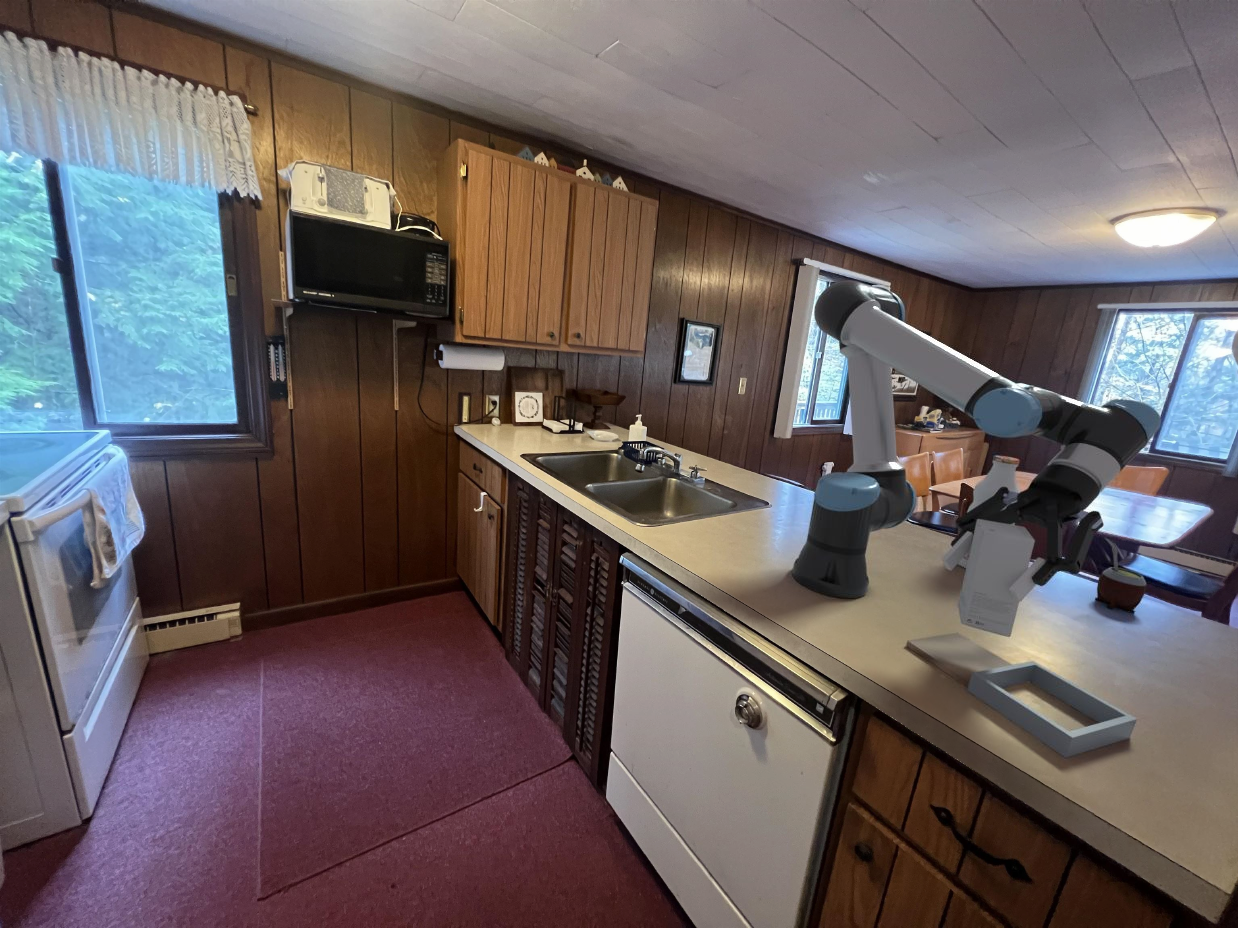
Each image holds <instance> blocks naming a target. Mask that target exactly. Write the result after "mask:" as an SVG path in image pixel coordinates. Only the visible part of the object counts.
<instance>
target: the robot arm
mask: <svg viewBox="0 0 1238 928" xmlns="http://www.w3.org/2000/svg"><path fill="white" fill-rule="evenodd" d="M905 309H906V308H905V305H904V303H903V301H902V299H901V298H900V297H899V296H898V295H897V294H896V293H894V292H893V291H891V290H889V289H888V288H885V287H882V286H881V287H880V286H873V285H870V284H867V283H863V282H860V281H858V280H852V279H850V280H840V281H837V282H835V283H834V282H833V284H831V285H828V287H826V288H825V289H824V290H823V291H822V292H821V293H820V295H819V296H818V298H817V299H816V302H815V306H814V312H813V315H814V320H815V323H816V325H817V327H818V328H819V329H820V330H821V331H822V333H824V334H826V335H828V336H829V337H831V338H833V339H835V340H837V341H838V346H839V353H840V354H841V355H842V356H844V357H845V358H846V359H847V371H848V374H847V375H848V387H849V388H848V389H849V390H848V391H849V404H850V420H851V423H850V424H851V437H852V450H853V451H852V452H853V453H852V454H853V463H852V465H851V466H850V467H849V468H847V470H846V471H845V472H841V471H837V472H830V473H826V474H823V475H822V476H821V477H820V478H819V479H818V481H817V485H816V489H815V491H814V492H813V494H814V495H813V504H812V510H811V514H810V515H811V516H810V520H809V527H808V532H807V537H806V541H805V544H804V545H803V547H802V548H801V550H800V553H799V555H798V557H797V558H796V559H795V561H794V562H793V566H792V571H791V573H792V576H793V578H794V580H796V582H797V583H799V584H800V585H802V586H804V587H805V588H808V589H809V590H812V591H814V592H817V593H820V594H823V595H826V596H829V597H830V596H831V597H836V598H840V599H841V598H843V599H855V598H856V599H858V598H861V597H864V596H865V595H866V594H867V592H868V588H869V586H870V585H869V583H870V579H869V576H868V572H867V570H868V569H867V567H868V566H867V560H866V554H867V550H868V549H867V548H868V543H869V539H870V534H871V533H873V532H876V531H877V532H878V531H880V530H884V529H885V530H887V529H891V528H892V529H893V528H895V527H897V526H899V525H901V524H903V523H905V522H906V521H907V520H908V519H910V518H911V516H912V515H913V514H914V512H915V510H916V508H917V507H916V506H917V502H918V500H917V498H918V497H917V493H916V490H915V488H914V486H913V484H911V483H910V482H909V480H907V473H906V470H907V469H906V466H904V465H902V464H901V463H900V462H899V461H898V455H897V440H896V438H897V437H896V425H895V424H896V422H895V410H894V408H895V407H894V392H893V391H894V389H893V380H892V378H893V377H892V369H894V370H896V371H897V372H899V373H900V374H902V375H903V376H904V377H907V378H908V379H910V380H911V381H913V382H914V383H916V384H918V385H920V386H921V387H922V388H924V389H925V390H927V391H929V392H931V393H932V394H934V395H935V396H937V397H939V398H940V399H942V400H944V401H945V402H947V403H948V404H950V405H952V406H953V407H955V408H956V409H958V410H959V411H962V413H964V414H966V415H968V416H969V417H970V418H972V419H973V420H974V422H975V424H976V426H977V427H978V429H980V430H981V431H982V432H984V433H986V434H987V435H990V436H995V437H997V438H1002V439H1003V438H1004V439H1006V438H1017V437H1024V436H1035V437H1039V438H1041V439H1044V440H1047V441H1050V442H1053V443H1056V444H1058V445H1060V446H1063V448H1062V449H1061V450H1060V451H1059V452H1058V453H1056V455H1055V456H1054V457H1053V458H1052V459H1051V460H1050V461H1049V462H1048V464H1047V465H1046V466H1044V467H1043V469H1042V470H1040V471H1039V473H1038V474H1037V475H1036V476H1035V477H1034V478H1033V479H1032V480H1031V482H1030V484H1029V486H1028V487H1027V488H1026V489H1024V490H1021V492H1020V493H1016V492H1011V491H1009V490H1008V488H1007V487H1001V488H1000V489H999V490H998V491H997V492H996V493H995V495H994V496H992V497H991V498H989V499H988V500H986V501H984V502H983V503H981V504H980V505H978V506H977V507H975V508H974V509H972V510H970V511H969V512H967V511H966V513H964V514H962V515H961V516H959V517H958V518H956V519H955V524H956V526H957V528H958V530H959V531H960V532H959V534H957V536H955V538H954V539H953V540H952V541H950V542H951V543H950V546H951V548H949V550H948V551H947V552H946V553H945V554H944V555H943V556H942V557H941V561H942V563H943V565H944V566H945V568H946V570H949V571H953V569H954V568H955V567H957V565H958V563H959V562H960V561H961V560H962V559H963V558H964V557H965V556H966V554H967V553H968V552H969V551H970V549H971V545H972V540H973V536H974V531H975V527H976V522H977V519H982V520H987V521H993V522H998V523H1004V524H1013V523H1015V524H1021V523H1024V522H1027V523H1029V524H1036V525H1038V526H1041V527H1043V528H1047V529H1046V530H1047V531H1046V535H1047V536H1046V538H1047V539H1046V554H1045V558H1046V560H1045V559H1044V558H1042V557H1037V558H1036V559H1035V560H1034V562H1032V563H1031V564H1030V566H1028V569H1027V570H1026V571H1025V572H1024V573H1023V574H1022V575H1021V577H1020V578H1019V579H1018V580H1017V581H1016V582H1015V583H1014V584H1013V585H1012V586H1011V587H1010V588H1009V590H1010V592H1011V594H1012V596H1013V598H1014V600H1016V601H1018V602H1019V603H1021V602H1022V601H1023V600H1024V599H1025V598H1026V597H1027V596H1028V595H1029V594H1030V592H1031V591H1032V590H1033V589H1034V588H1035V587H1036V586H1039V587H1043V586H1045V585H1047V583H1049V582H1050V580H1051V579H1052V578H1053V577H1054V576H1055V575H1056V574H1057V573H1060V572H1068V573H1069V574H1071V575H1078V574H1080V572H1081V570H1082V567H1083V564H1084V563H1085V559H1086V558H1087V554H1088V552H1089V550H1090V547H1091V544H1092V541H1093V538H1094V536H1095V534H1096V533H1097V532H1098V531H1099V530H1100V529H1102V528H1103V527H1104V522H1103V517H1102V515H1101V513H1100V511H1098V510H1092V511H1086V509H1087V508H1088V507H1089V506H1090V505H1091V504H1092V503H1093V502H1094V501H1095V500H1096V498H1098V496H1099V495H1100V494H1101V493H1102V492H1103V491H1104V489H1106V488H1107V486H1109V484H1111V482H1112V481H1113V480H1114V479H1115V478H1116V477H1117V476H1118V475H1119V474H1120V473H1121V471H1122V470H1123V469H1124V468H1125V467H1127V466H1128V464H1130V462H1131V461H1132V460H1133V459H1134V458H1135V457H1136V456H1137V455H1138V454H1139V453H1141V451H1142V450H1143V449H1145V447H1147V445H1148V443H1149V442H1150V440H1151V439H1152V438H1153V436H1154V435H1155V434H1156V433H1157V432H1158V431H1159V430H1160V428H1161V425H1162V418H1161V416H1160V414H1159V412H1158V411H1157V410H1156V409H1155V408H1154V407H1152V406H1151V405H1149V404H1148V403H1146V402H1144V401H1141V400H1138V399H1134V398H1127V399H1123V398H1116V399H1111V400H1109V401H1108V402H1106V403H1105V404H1104V403H1103V405H1101V406H1100V405H1096V404H1091V403H1089V402H1083V401H1081V400H1077V399H1074V398H1071V397H1068V396H1065V395H1062V394H1059V393H1056V392H1053V391H1050V390H1047V389H1043V387H1039V386H1034V385H1029V384H1025V383H1022V382H1021V383H1016V382H1014V381H1012V380H1010V379H1008V378H1005V377H1004V376H1002V375H1000V374H998V373H997V372H994V371H993V370H991V369H989V368H988V367H986V366H984V365H982V364H980V363H979V362H977V361H974V360H973V359H971V358H969V357H967V356H966V355H964V354H962V353H960V352H958V351H956V350H954V349H953V348H952V347H949V346H947V345H946V344H944V343H942V342H940V341H938V340H936V339H935V338H933V337H931V336H929V335H927V334H926V333H923V332H922V331H920V330H918V329H916V328H915V327H913V326H911V325H909V324H908V323H907V324H906V322H905V319H906V310H905ZM1014 501H1017V502H1015V503H1012V502H1014ZM1007 505H1008V506H1007ZM1006 506H1007V507H1006ZM1005 507H1006V509H1004V508H1005ZM1002 509H1004V510H1002ZM1018 513H1019V514H1018ZM1077 520H1078V525H1077V527H1076V530H1075V532H1074V534H1073V537H1072V539H1071V542H1070V545H1069V547H1068V550H1067V552H1066V555H1065V557H1064V558H1063V535H1064V524H1067V523H1069V522H1074V521H1077Z"/></svg>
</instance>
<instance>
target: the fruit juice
mask: <svg viewBox="0 0 1238 928" xmlns="http://www.w3.org/2000/svg"><path fill="white" fill-rule="evenodd" d="M992 464H993V465H992V466H991V469H990V470H989V471H988V472H987V474H986V476H985V477H984V478H983V479H981V480H979V481H978V482H977V483H976V484H975V486H974V488H973V494H972V495H973V500H972V503H970V505H969V507H968V509H967V511H966V513H967V512H969V511H970V510H972V509H974V508H975V507H977V506H978V505H980V504H981V503H983V502H984V501H986V500H988V499H989V498H991V497H992V496H994V495H995V493H996V492H997V491H998V490H999V489H1000V488H1001V487H1007V488H1008V490H1009V491H1011V492H1016V493H1020V492H1022V490H1021V489H1020V488H1019V485H1018V484H1017V479H1016V478H1017V477H1016V470H1017V467H1019V465H1020V459H1018V458H1015V457H1011V456H1005V455H993V458H992ZM1015 502H1017V501H1014V502H1012V503H1015ZM1007 506H1008V505H1007ZM1007 506H1006V507H1007ZM1006 507H1005V508H1004V509H1006ZM1004 509H1002V510H1004ZM1015 524H1016V523H1013V524H1011V525H1015ZM969 554H970V551H969V552H968V553H967V554H966V556H965V557H964V558H963V559H962V560H961V561H960V562H959V563H958V564H957V565H958V566H960V565H961V566H962V567H961V566H960V567H961V568H963V567H964V569H965V568H966V567H967V563H968V558H969Z"/></svg>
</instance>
